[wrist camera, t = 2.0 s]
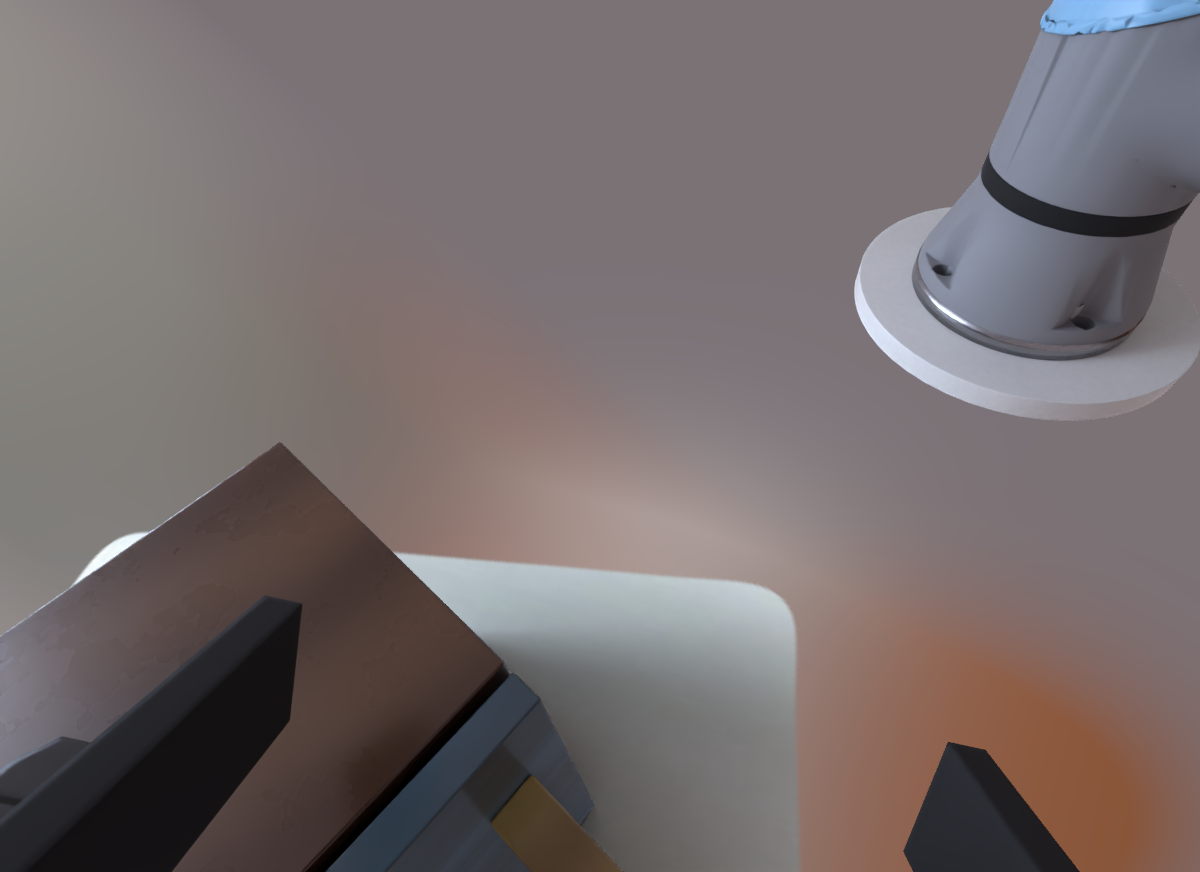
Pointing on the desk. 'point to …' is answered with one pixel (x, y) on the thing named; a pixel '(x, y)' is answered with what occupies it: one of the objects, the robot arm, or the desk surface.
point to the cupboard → (322, 675)
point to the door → (488, 802)
